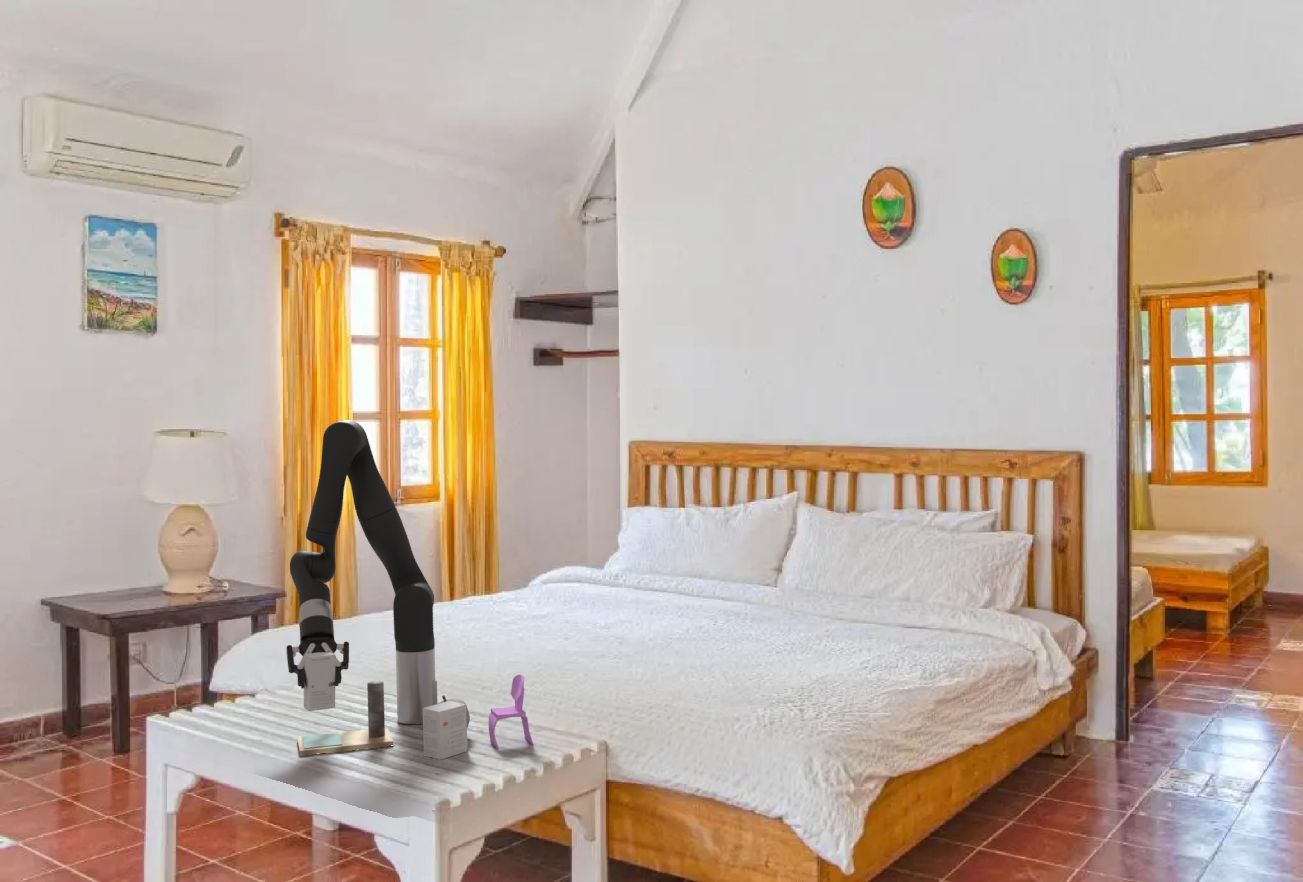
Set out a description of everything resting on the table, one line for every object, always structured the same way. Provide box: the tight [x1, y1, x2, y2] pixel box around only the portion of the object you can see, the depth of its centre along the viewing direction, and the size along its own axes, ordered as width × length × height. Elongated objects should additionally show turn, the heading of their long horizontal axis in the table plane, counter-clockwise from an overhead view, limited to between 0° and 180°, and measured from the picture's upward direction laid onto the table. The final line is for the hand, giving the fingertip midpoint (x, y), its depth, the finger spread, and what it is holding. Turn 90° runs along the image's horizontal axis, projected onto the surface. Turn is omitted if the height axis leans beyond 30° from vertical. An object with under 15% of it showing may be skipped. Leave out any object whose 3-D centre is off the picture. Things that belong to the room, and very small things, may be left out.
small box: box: [422, 701, 468, 761], centre depth 263 cm, size 8×6×10 cm
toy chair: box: [488, 674, 534, 749], centre depth 271 cm, size 8×9×15 cm
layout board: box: [297, 680, 394, 757], centre depth 272 cm, size 20×12×13 cm, turn 109°
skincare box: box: [303, 652, 336, 712], centre depth 270 cm, size 6×4×12 cm
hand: (320, 685), depth 269 cm, fingers closed on skincare box, 6 cm apart
